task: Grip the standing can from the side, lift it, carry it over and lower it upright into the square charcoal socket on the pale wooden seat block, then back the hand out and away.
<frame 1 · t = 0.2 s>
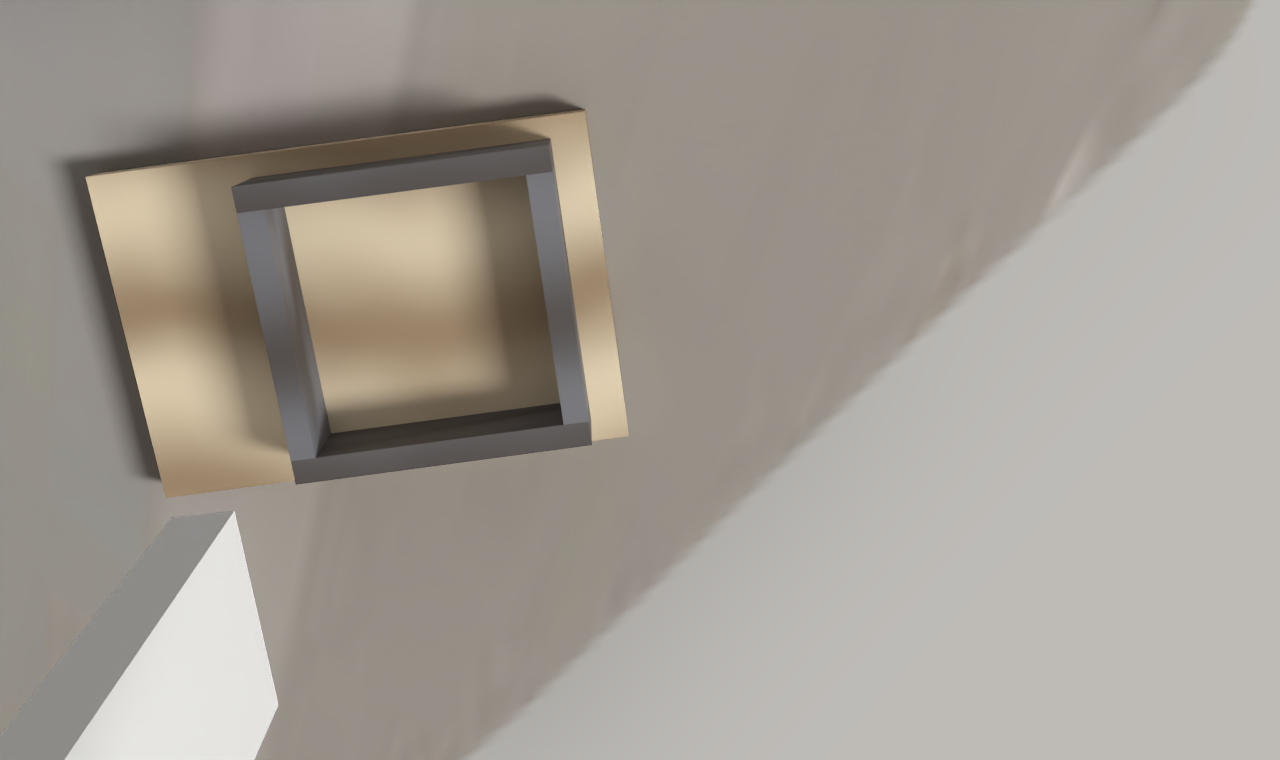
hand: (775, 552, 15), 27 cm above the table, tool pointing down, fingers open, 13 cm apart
seat block: (373, 303, 41), on the table
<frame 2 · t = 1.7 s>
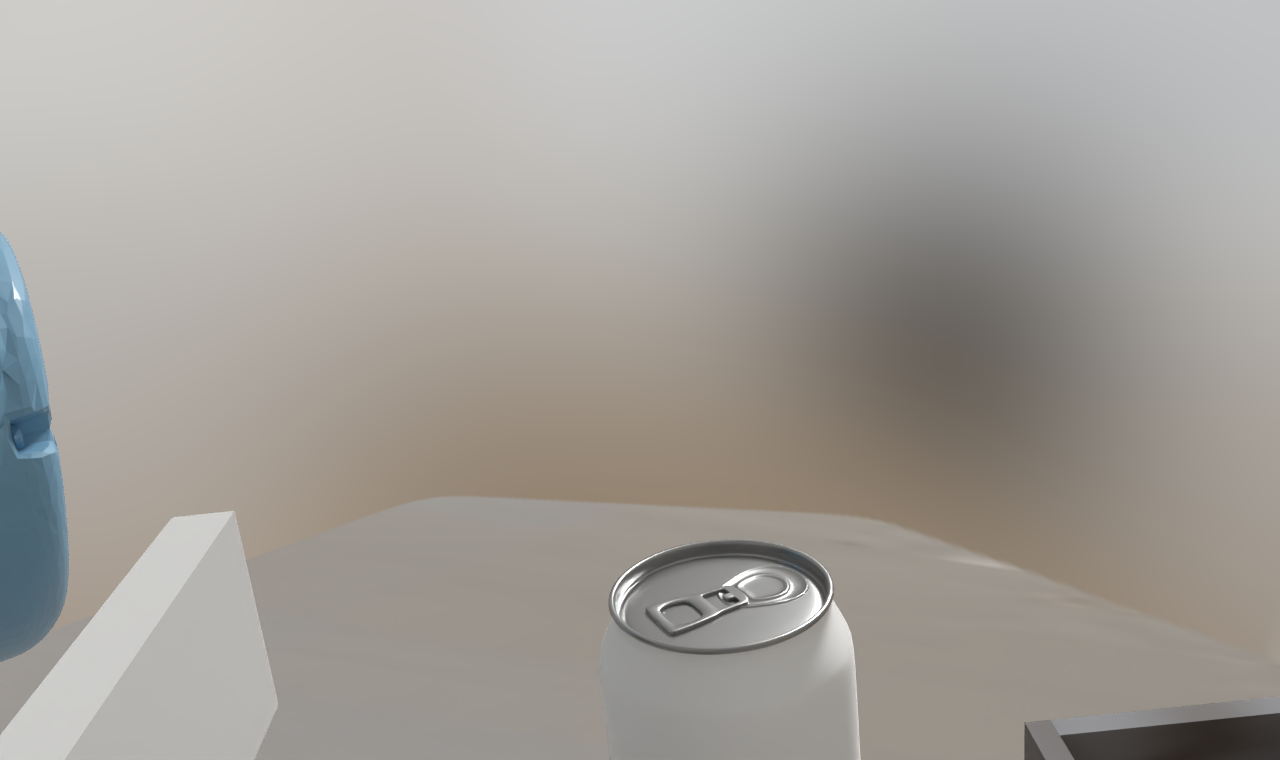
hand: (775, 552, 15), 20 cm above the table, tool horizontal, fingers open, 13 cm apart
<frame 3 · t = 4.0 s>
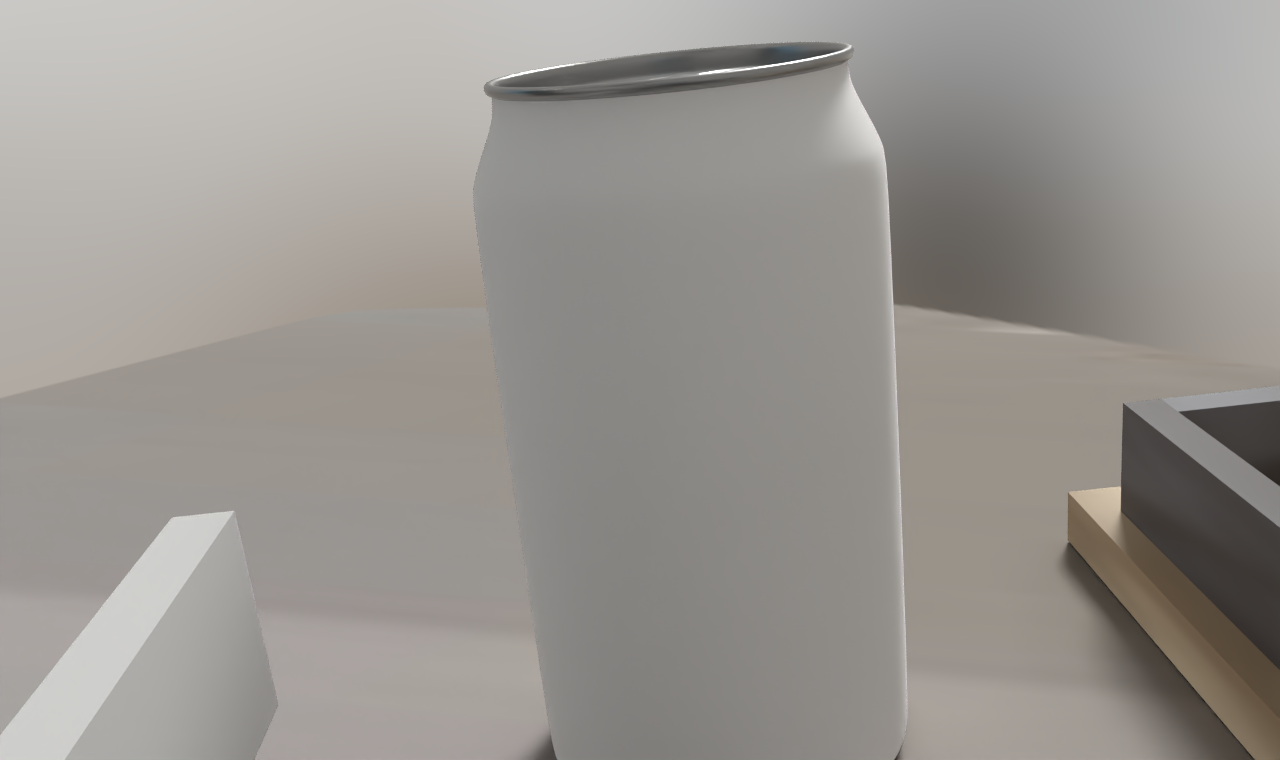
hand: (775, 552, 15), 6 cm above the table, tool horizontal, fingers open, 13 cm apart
can: (729, 743, 22), on the table
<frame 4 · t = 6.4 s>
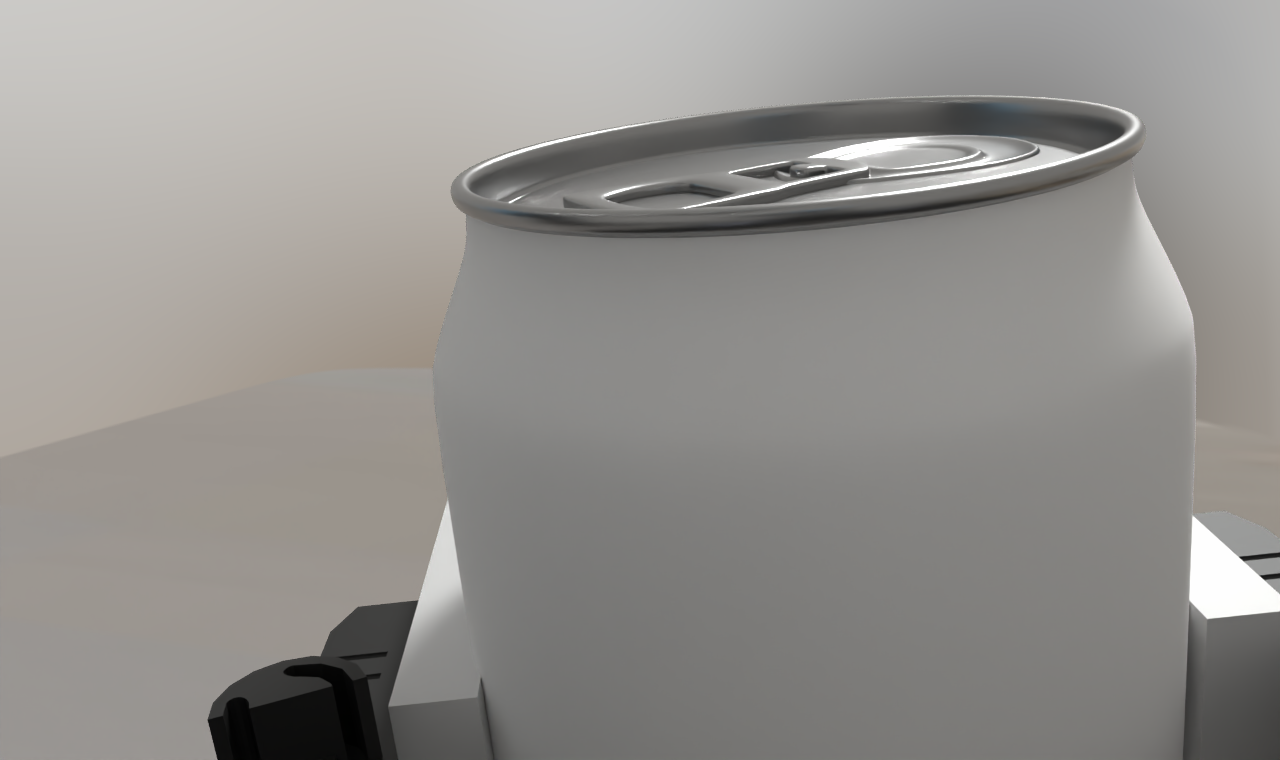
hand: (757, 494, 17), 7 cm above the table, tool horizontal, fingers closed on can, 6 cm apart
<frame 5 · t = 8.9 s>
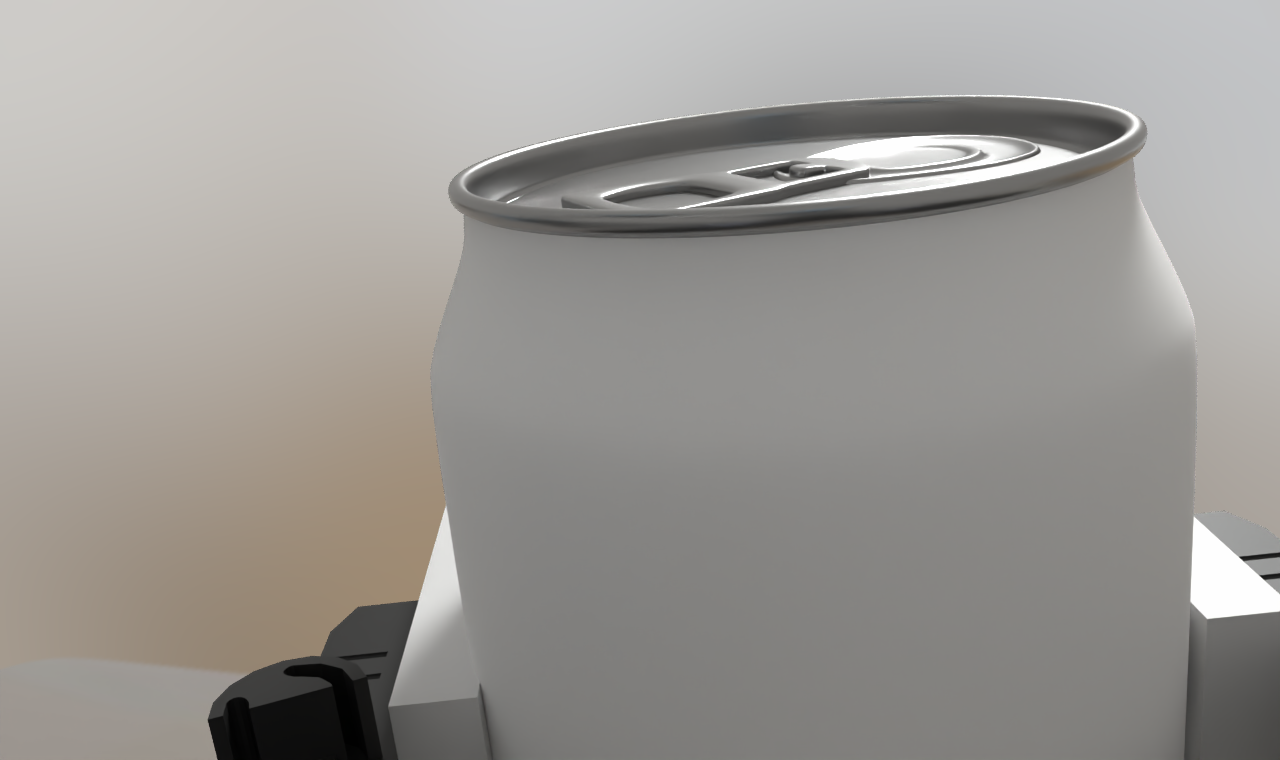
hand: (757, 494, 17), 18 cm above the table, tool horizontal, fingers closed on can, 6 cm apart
when the fingers open (9 cm above the table, at t = 11.4 s): can drops 1 cm, resting on seat block.
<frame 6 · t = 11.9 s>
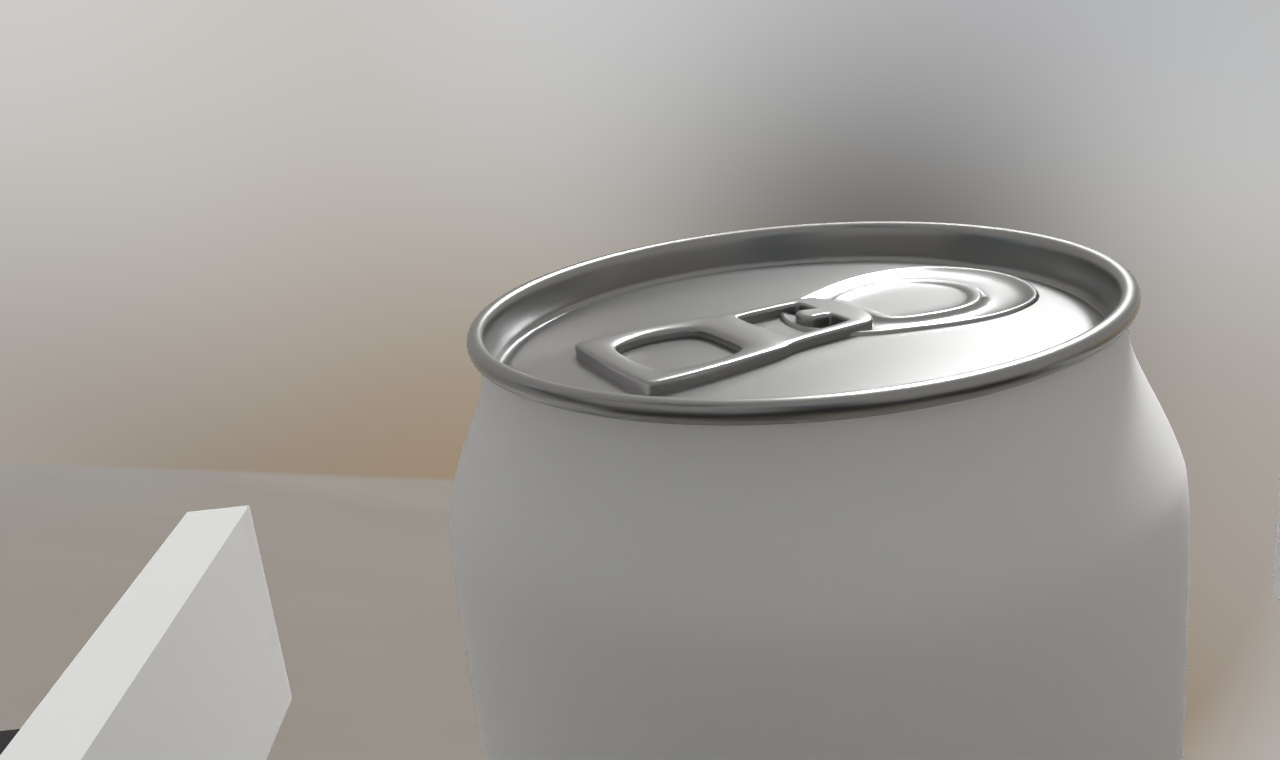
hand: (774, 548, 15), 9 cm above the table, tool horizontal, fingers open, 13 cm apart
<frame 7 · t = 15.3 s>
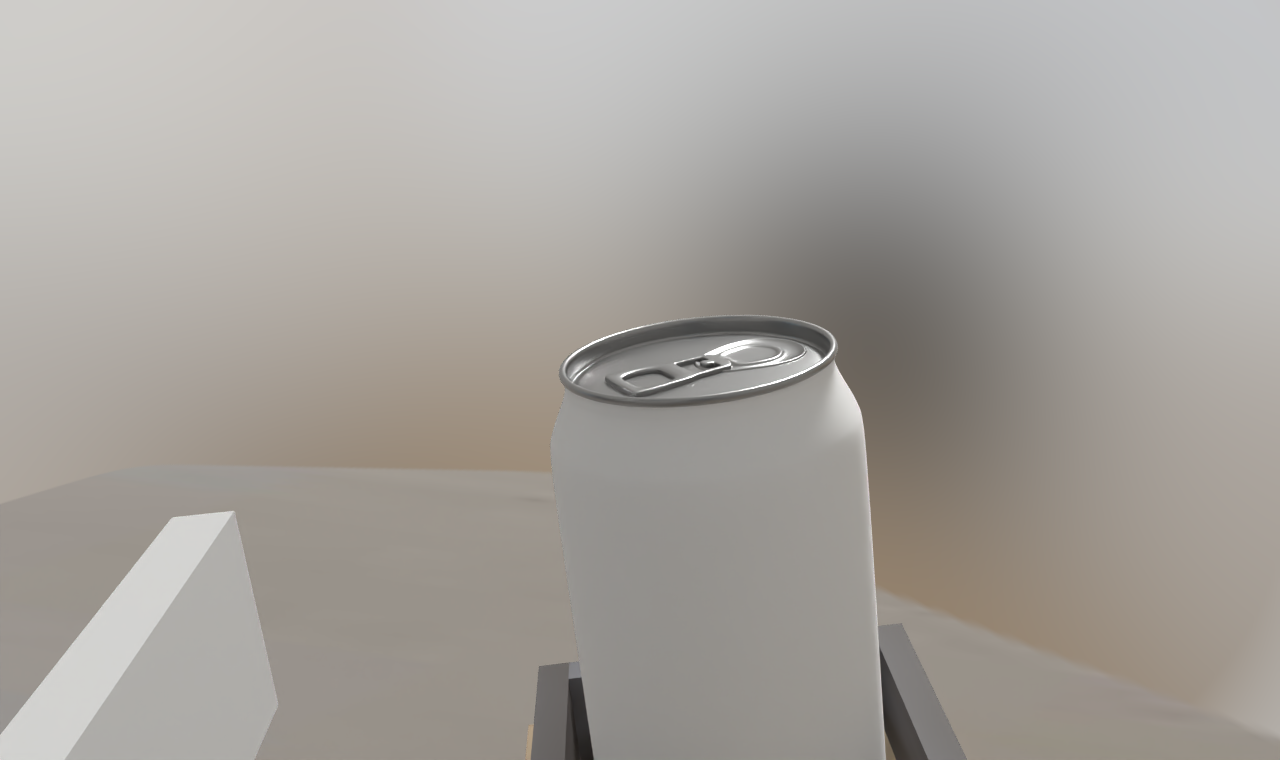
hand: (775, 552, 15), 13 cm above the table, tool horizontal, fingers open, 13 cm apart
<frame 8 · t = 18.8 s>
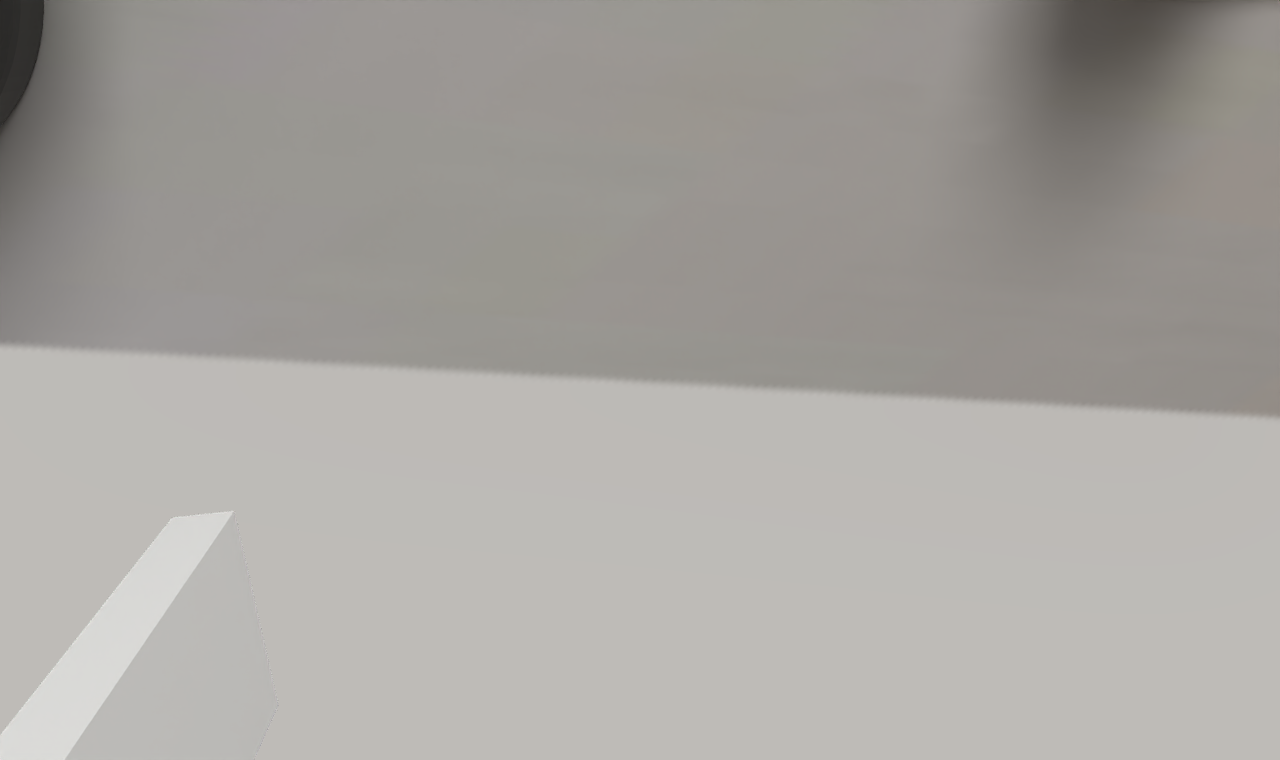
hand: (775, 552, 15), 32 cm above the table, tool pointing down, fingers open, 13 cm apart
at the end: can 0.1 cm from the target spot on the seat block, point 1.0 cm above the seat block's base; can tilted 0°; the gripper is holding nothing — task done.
